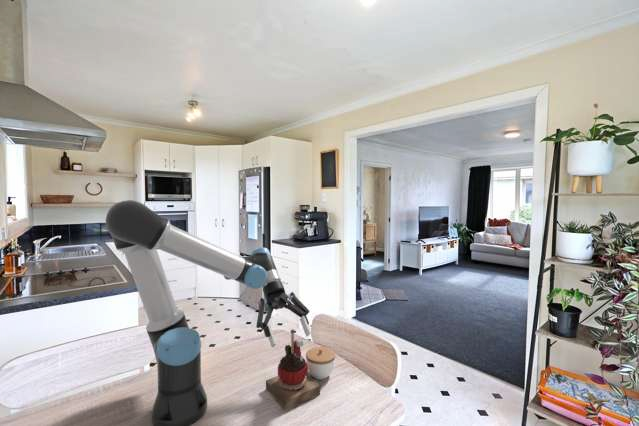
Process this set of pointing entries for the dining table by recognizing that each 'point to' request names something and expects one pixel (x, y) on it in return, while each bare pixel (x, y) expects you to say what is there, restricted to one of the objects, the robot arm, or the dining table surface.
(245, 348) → the dining table surface
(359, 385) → the dining table surface
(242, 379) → the dining table surface
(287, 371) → the cake
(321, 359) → the lidded jar
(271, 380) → the plinth
